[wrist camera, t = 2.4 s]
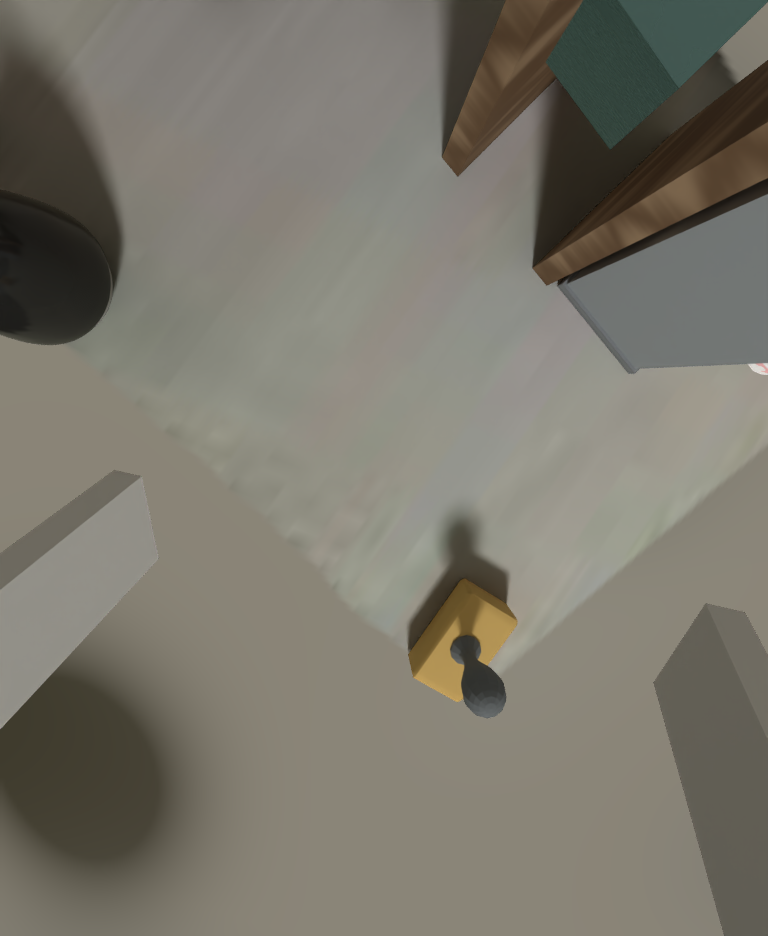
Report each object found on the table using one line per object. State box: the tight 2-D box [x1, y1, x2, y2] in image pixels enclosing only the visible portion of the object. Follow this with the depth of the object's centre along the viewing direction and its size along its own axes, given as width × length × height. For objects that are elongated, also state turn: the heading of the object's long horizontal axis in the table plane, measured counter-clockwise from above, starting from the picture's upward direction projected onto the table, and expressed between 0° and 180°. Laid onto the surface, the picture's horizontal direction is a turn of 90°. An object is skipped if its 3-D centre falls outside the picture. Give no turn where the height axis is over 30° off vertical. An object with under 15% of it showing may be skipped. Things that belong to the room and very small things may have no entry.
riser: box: [442, 0, 768, 285], centre depth 26 cm, size 14×16×30 cm
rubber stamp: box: [408, 578, 517, 718], centre depth 43 cm, size 10×6×12 cm, turn 147°
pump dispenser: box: [0, 189, 113, 345], centre depth 33 cm, size 10×10×15 cm
